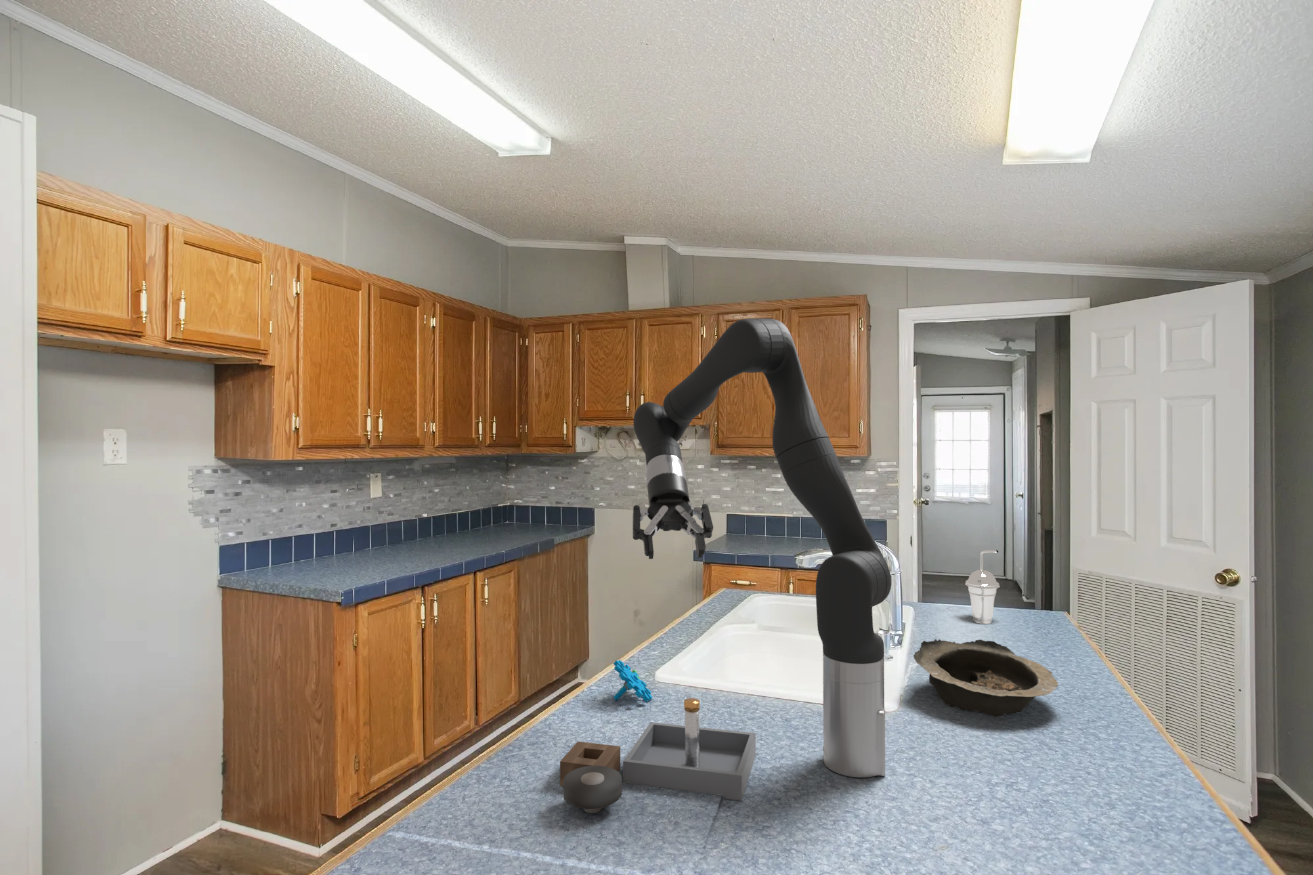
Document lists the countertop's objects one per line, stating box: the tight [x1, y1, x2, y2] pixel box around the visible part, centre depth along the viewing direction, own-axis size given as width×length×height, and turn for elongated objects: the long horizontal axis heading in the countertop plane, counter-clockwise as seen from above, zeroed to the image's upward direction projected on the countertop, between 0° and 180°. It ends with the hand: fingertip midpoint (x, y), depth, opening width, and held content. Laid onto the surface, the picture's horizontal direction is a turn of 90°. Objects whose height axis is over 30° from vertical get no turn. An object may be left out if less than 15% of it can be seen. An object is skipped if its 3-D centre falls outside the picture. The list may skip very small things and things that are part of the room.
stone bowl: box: [913, 638, 1059, 717], centre depth 138 cm, size 25×25×9 cm
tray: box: [622, 721, 757, 802], centre depth 111 cm, size 18×15×4 cm
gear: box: [612, 659, 653, 703], centre depth 141 cm, size 11×6×10 cm
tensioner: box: [559, 741, 623, 814], centre depth 104 cm, size 11×16×5 cm
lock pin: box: [683, 697, 701, 768], centre depth 111 cm, size 2×2×10 cm
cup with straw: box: [965, 549, 1001, 625], centre depth 193 cm, size 8×9×20 cm
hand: (676, 555), depth 125 cm, fingers open, 8 cm apart
